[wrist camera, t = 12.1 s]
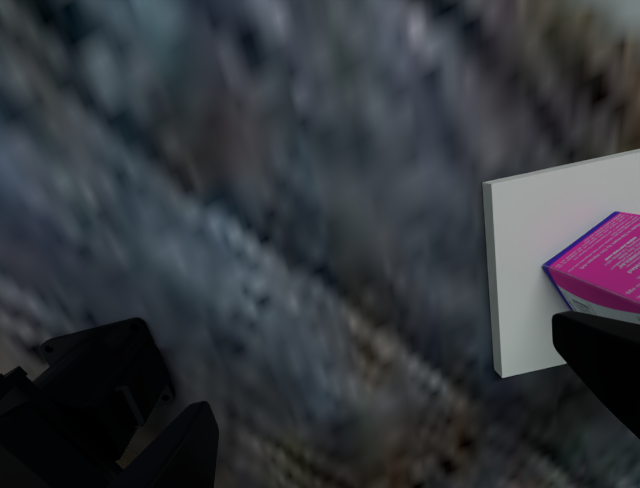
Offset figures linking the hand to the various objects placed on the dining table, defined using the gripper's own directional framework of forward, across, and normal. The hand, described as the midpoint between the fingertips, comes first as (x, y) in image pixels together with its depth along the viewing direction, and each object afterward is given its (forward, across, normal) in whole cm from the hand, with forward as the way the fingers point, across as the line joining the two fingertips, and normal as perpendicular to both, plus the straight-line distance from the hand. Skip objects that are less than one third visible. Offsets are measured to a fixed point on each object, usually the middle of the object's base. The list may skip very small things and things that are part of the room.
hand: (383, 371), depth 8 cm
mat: (+13, -17, +6) cm, 22 cm away
